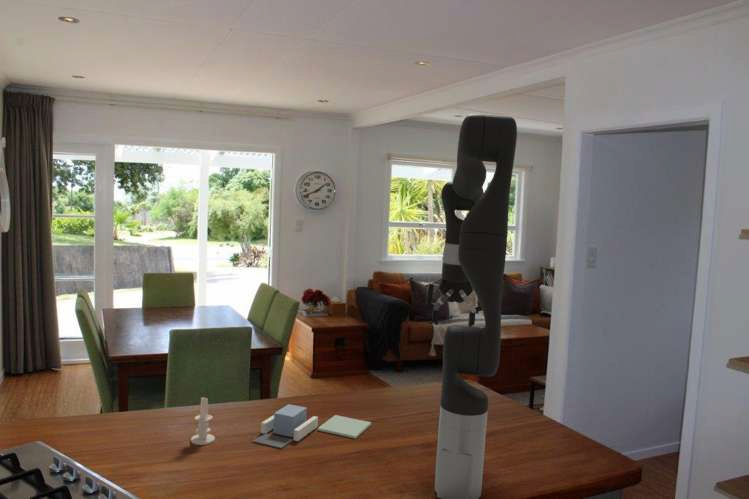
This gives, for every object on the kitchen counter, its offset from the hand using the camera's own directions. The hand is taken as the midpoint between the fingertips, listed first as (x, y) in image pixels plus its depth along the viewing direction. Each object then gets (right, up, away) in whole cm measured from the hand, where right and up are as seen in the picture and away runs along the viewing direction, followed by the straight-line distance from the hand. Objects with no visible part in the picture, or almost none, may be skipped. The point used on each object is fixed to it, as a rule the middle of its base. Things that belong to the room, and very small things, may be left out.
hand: (453, 325), depth 154 cm
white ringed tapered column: (-59, -24, -16) cm, 66 cm away
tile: (-27, -25, -4) cm, 37 cm away
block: (-40, -24, -7) cm, 48 cm away
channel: (-41, -24, -10) cm, 49 cm away
